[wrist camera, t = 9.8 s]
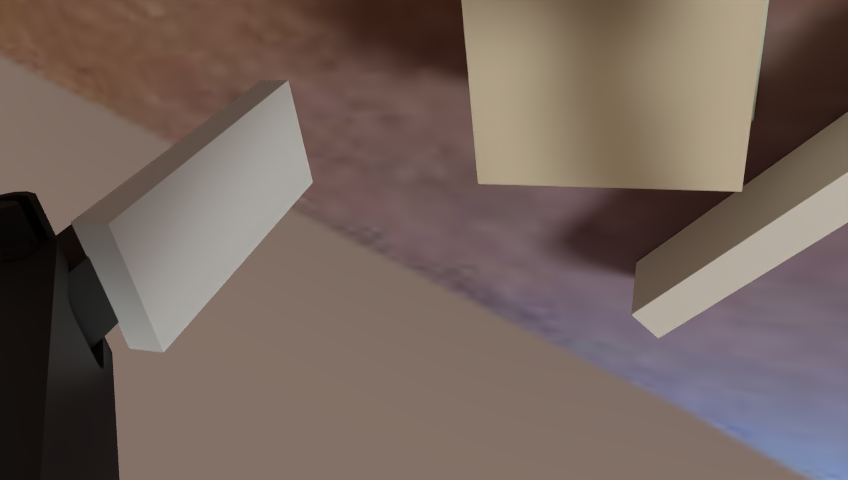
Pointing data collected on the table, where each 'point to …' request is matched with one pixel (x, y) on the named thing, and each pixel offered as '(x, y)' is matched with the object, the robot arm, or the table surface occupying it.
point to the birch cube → (613, 91)
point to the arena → (747, 231)
